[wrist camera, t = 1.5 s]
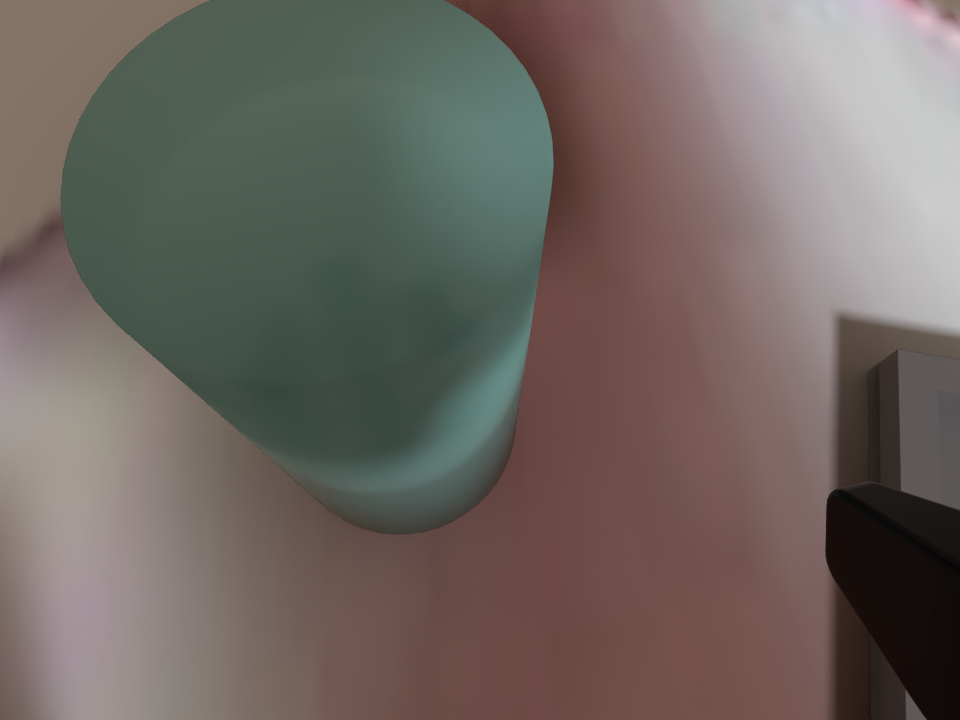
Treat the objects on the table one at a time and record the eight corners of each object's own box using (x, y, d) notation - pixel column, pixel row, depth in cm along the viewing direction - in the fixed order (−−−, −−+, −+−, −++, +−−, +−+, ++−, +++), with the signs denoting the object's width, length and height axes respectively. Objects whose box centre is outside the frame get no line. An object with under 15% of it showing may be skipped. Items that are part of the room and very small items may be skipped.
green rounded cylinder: (493, 555, 19) (506, 430, 8) (262, 510, 20) (-25, 332, 9) (532, 338, 22) (585, 8, 10) (324, 302, 22) (161, -51, 11)
